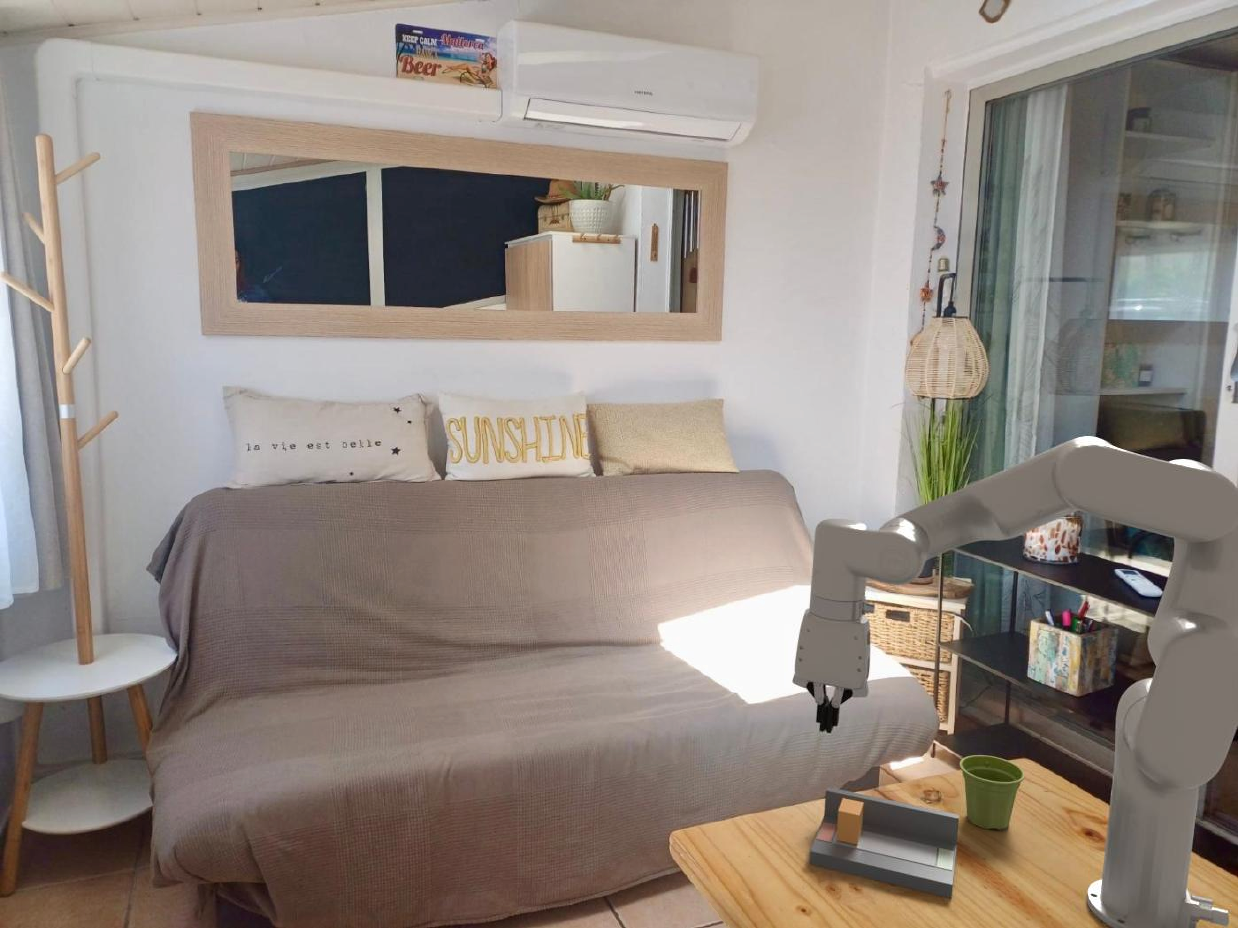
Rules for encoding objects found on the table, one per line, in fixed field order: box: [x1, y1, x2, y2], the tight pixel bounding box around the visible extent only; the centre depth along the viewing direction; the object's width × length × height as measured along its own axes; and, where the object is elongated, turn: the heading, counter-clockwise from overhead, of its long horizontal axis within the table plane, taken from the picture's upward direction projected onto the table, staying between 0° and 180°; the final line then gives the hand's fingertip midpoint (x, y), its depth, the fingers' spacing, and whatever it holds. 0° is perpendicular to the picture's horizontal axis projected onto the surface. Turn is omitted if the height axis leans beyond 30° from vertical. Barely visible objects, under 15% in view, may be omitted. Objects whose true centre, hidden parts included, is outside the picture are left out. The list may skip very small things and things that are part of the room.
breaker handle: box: [836, 798, 864, 845], centre depth 133 cm, size 3×4×4 cm
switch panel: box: [809, 786, 960, 899], centre depth 132 cm, size 19×12×6 cm, turn 67°
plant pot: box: [959, 754, 1026, 831], centre depth 143 cm, size 9×9×9 cm
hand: (826, 728), depth 133 cm, fingers closed
